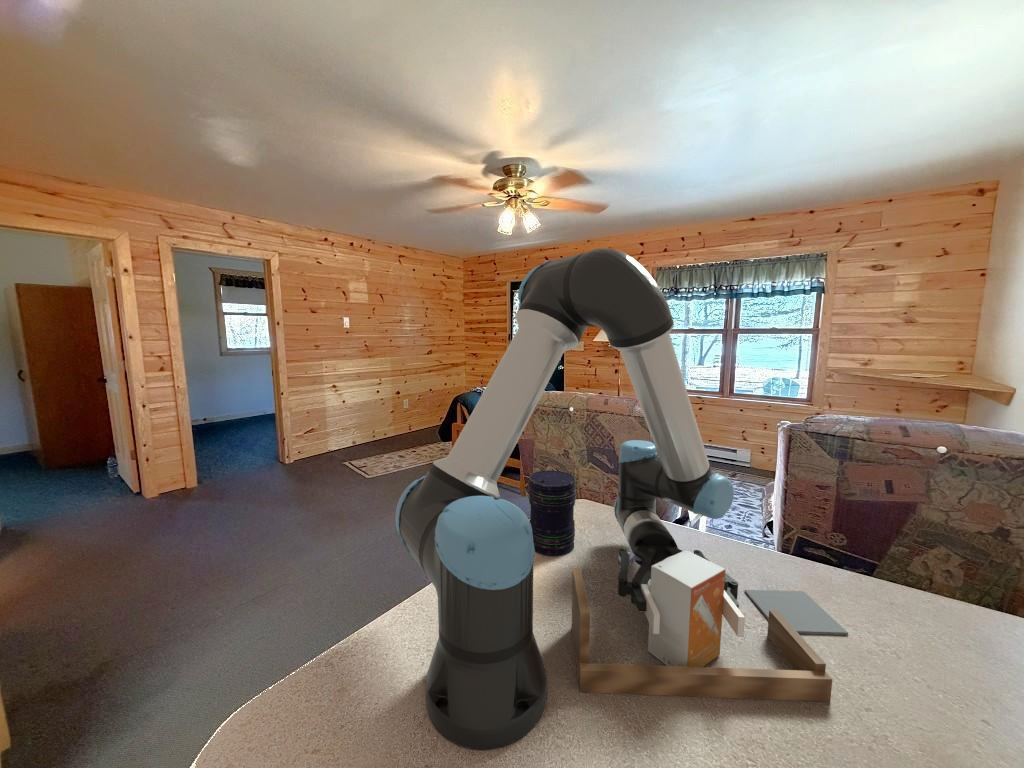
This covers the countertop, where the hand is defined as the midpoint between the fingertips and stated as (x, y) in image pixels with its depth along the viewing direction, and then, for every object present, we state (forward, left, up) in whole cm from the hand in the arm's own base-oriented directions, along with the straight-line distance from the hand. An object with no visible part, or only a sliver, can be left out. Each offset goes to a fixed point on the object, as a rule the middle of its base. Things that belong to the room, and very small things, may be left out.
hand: (698, 625), depth 52 cm
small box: (0, +4, -8) cm, 9 cm away
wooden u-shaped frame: (0, +4, -8) cm, 8 cm away
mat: (+21, +14, -8) cm, 26 cm away
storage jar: (-17, +34, -8) cm, 39 cm away
